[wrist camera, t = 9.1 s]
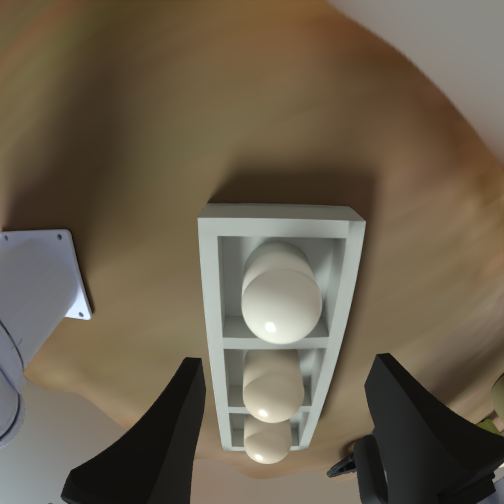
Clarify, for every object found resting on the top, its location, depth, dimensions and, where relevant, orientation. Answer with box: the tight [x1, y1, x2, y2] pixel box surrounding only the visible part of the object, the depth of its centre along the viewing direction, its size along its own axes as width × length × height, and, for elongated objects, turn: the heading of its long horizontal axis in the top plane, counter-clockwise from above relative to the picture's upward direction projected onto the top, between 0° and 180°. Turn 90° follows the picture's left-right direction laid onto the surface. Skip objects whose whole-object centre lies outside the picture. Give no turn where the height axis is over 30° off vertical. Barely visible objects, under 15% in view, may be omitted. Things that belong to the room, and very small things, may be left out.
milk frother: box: [327, 428, 388, 504], centre depth 24 cm, size 14×16×15 cm
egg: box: [241, 242, 322, 344], centre depth 16 cm, size 4×4×6 cm
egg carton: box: [198, 203, 366, 464], centre depth 20 cm, size 9×25×6 cm, turn 179°
